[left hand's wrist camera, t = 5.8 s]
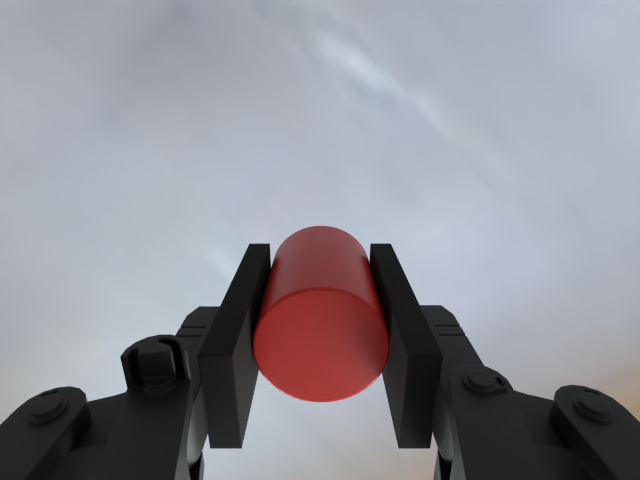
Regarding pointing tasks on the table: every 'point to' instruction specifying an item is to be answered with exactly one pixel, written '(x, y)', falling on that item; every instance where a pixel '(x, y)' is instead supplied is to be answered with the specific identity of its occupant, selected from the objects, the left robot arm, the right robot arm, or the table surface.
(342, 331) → the can
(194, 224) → the table surface
